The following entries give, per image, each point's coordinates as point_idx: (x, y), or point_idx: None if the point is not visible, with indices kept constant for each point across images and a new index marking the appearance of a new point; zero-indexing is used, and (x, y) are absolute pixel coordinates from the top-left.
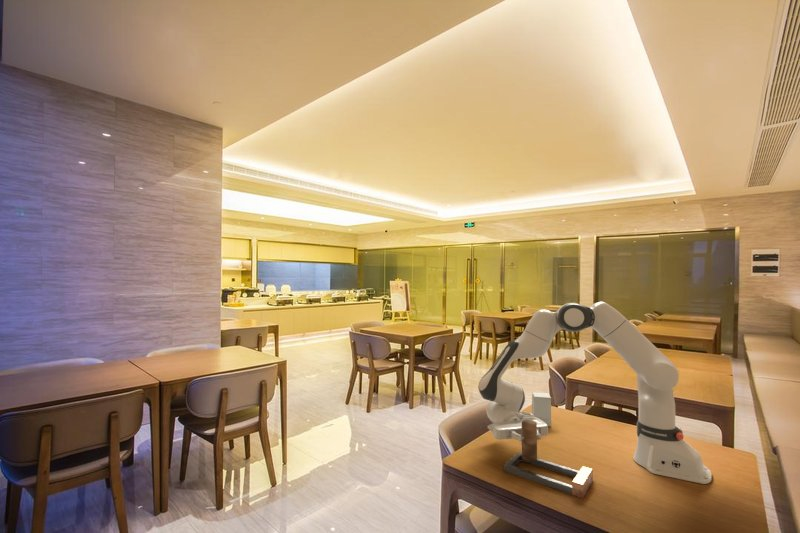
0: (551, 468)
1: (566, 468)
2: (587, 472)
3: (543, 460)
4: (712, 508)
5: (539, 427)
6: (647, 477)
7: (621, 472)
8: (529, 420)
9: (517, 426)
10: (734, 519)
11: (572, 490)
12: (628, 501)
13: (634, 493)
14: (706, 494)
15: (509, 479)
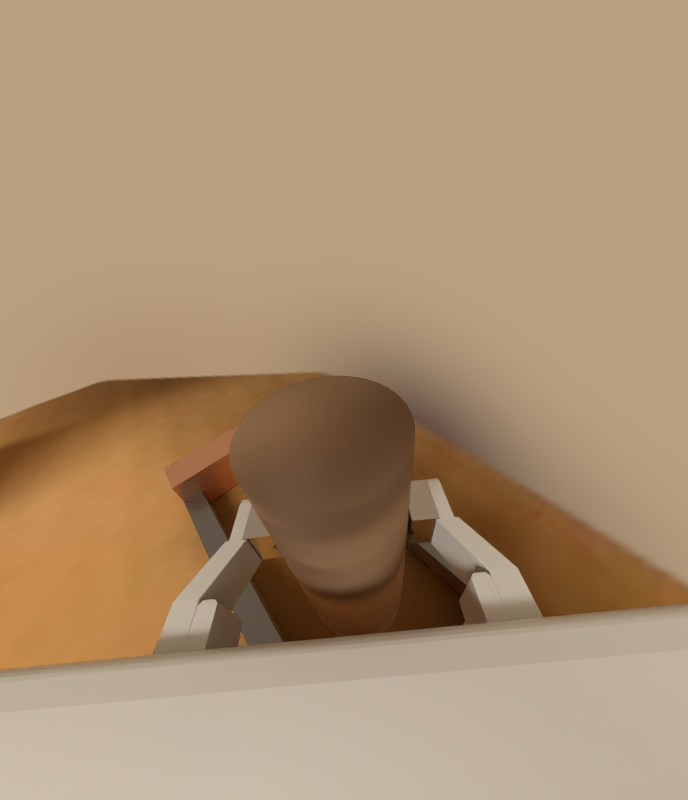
0: (254, 584)
1: (215, 531)
2: (206, 448)
3: (254, 636)
4: (92, 406)
5: (97, 660)
6: (9, 506)
7: (24, 543)
8: (266, 487)
9: (428, 727)
10: (108, 388)
11: None
12: (203, 419)
13: (154, 441)
14: (26, 437)
15: (479, 522)
